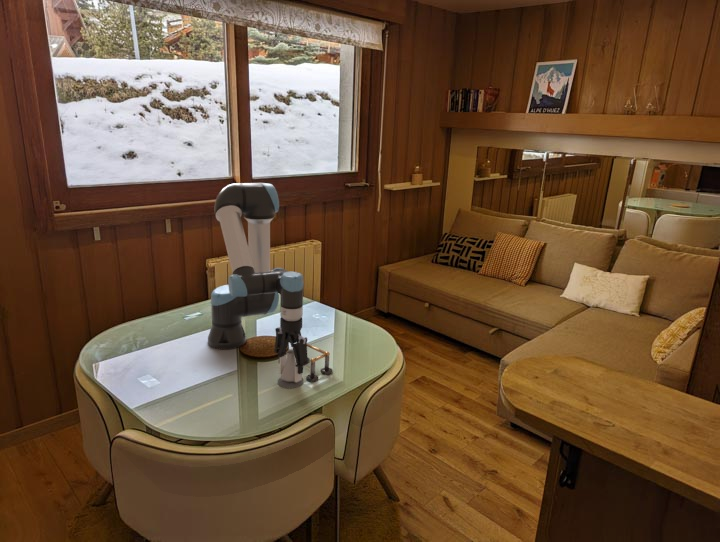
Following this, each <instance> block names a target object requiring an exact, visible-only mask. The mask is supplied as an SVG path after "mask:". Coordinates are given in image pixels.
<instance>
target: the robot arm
mask: <svg viewBox="0 0 720 542" xmlns="http://www.w3.org/2000/svg"><path fill="white" fill-rule="evenodd" d="M279 210H280V199H279V196H278V191H277V189H276V187H275V186H274V185H273V184H272V183H268V182H267V183H265V182H244V183H243V182H241V183H240V182H236V183H235V182H234V183H231V184H230V183H229V184H227V185H226V186H224V187H223V188H222V189H221V190H220V192H219V193H218V194H217V196H216V198H215V202H214V208H213V211H214V215H215V218H216V220H217V222H219V224H220V227H221V232H222V236H223V241H224V244H225V248H226V252H227V257H228V261H229V265H230V269H231V273H232V274H230V275H229V277H228V280H227V283H228V284H224V285H219V286H217V287H216V288H214V289H213V290H212V292H211V294H210V307H211V309H210V310H211V327H210V330H209V334H208V336H207V344H208V346H210V347H211V348H213V349H217V350H232V349H237V348H239V347H242V346H243V345H244V344H246V342H247V334H246V332H245V329H244V326H243V323H242V318H244V317H251V316H259V315H260V316H261V315H262V316H263V315H267V314H272V313H274V312H275V311H276V310H277V309H278V306H279V301H280V314H279V315H280V319H279V322H280V323H279V325H280V326H278V327H276V328H274V329H275V340H274V342H275V343H274V351H273V352H274V354H277V356H278V364H279V367H278V368H279V370H278V372H279V374H280V375H281V373H282V371H283V369H284V366H285V363H286V360H287V354H286V353H287V349H288V346H289V345H290V346H291V348H292V350H293V351H294V356H295V361H296V365H295V382H298V381H300V380H302V379H303V377H302V376H303V373H304V366H306V365H308V358H309V357H308V346H307V344H308V337H304V336H302V333H301V330H302V328H303V310H304V309H303V307H304V306H303V305H304V304H303V303H304V299H303V298H304V287H305V286H304V285H305V284H304V276H303V274H302V273H301V272H298V271H288V270H286V269H284V268H283V267H275V268H273V269H271V222H272V221H273V220H274V218H275V214H276V213H278V212H279ZM242 215H243V218H244V219H245V220H246V221H247V233H248V236H247V237H246V233H245V229H244V226H243V223H242V222H243V221H242V219H241V218H242ZM247 240H248V241H247ZM242 344H243V345H242ZM241 345H242V346H241Z"/></svg>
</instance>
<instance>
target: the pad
mask: <svg viewBox="0 0 720 542" xmlns="http://www.w3.org/2000/svg"><path fill="white" fill-rule="evenodd" d="M303 383H304V379H303V378H302V380H300V381H298V382H295V381H284V380H282V379H281V376H279V378H278V379H277V385H278V386H279V387H280V388H284V389H297V388H299V387H301V386H302V385H303Z"/></svg>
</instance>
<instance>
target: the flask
mask: <svg viewBox="0 0 720 542" xmlns="http://www.w3.org/2000/svg"><path fill="white" fill-rule="evenodd" d="M285 355H286V356H287V360H286V363H285V366H284V369H283V371H282V373H281V374H280V377H281V379H282V380H284V381H295V365H296V364H297V363H296V359H295V355H294V351H293V349H288V350H286V354H285Z"/></svg>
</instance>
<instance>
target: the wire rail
mask: <svg viewBox="0 0 720 542" xmlns="http://www.w3.org/2000/svg"><path fill="white" fill-rule="evenodd" d="M307 348H310V349H312V350H314V351H316V352H319V353H321V355H319V356H317V357H312V358H311V359H310V357H308V363H310V366H309V367H310V368H309V369H310V370H309V372H310V373H309V374H308V375H307V376H305V379H306V381H307V382H309V383H316V382H318V380H319V376H318V375H317V374H315V373H316V361H319V360H321V359H323V358H324V367H322V368H320V373H321V374H322V375H332V374H333V369H332V368H331V367H330V354H331V353H330V352H329V351H326V350H325V351H324V350H322V349H321V348H318V347H316V346H313V345H312V344H309V343H307Z"/></svg>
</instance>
